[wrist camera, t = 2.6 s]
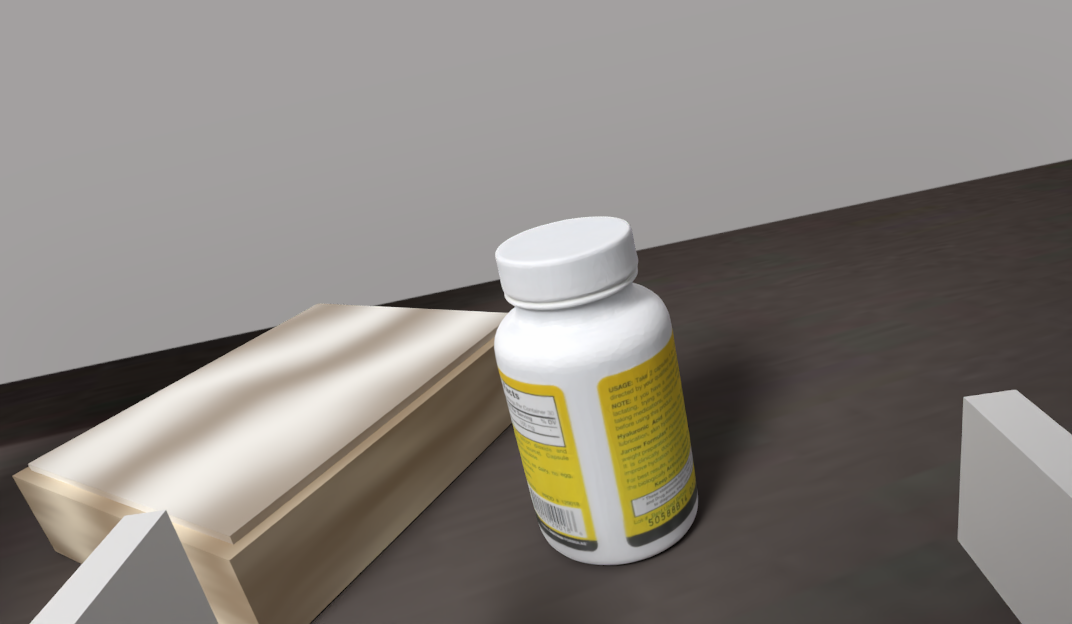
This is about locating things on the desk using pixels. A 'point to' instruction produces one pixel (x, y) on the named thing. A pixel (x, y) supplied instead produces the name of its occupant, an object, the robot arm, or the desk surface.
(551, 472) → the supplement bottle
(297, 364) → the pedestal
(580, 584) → the desk surface
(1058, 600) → the robot arm
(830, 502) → the desk surface
